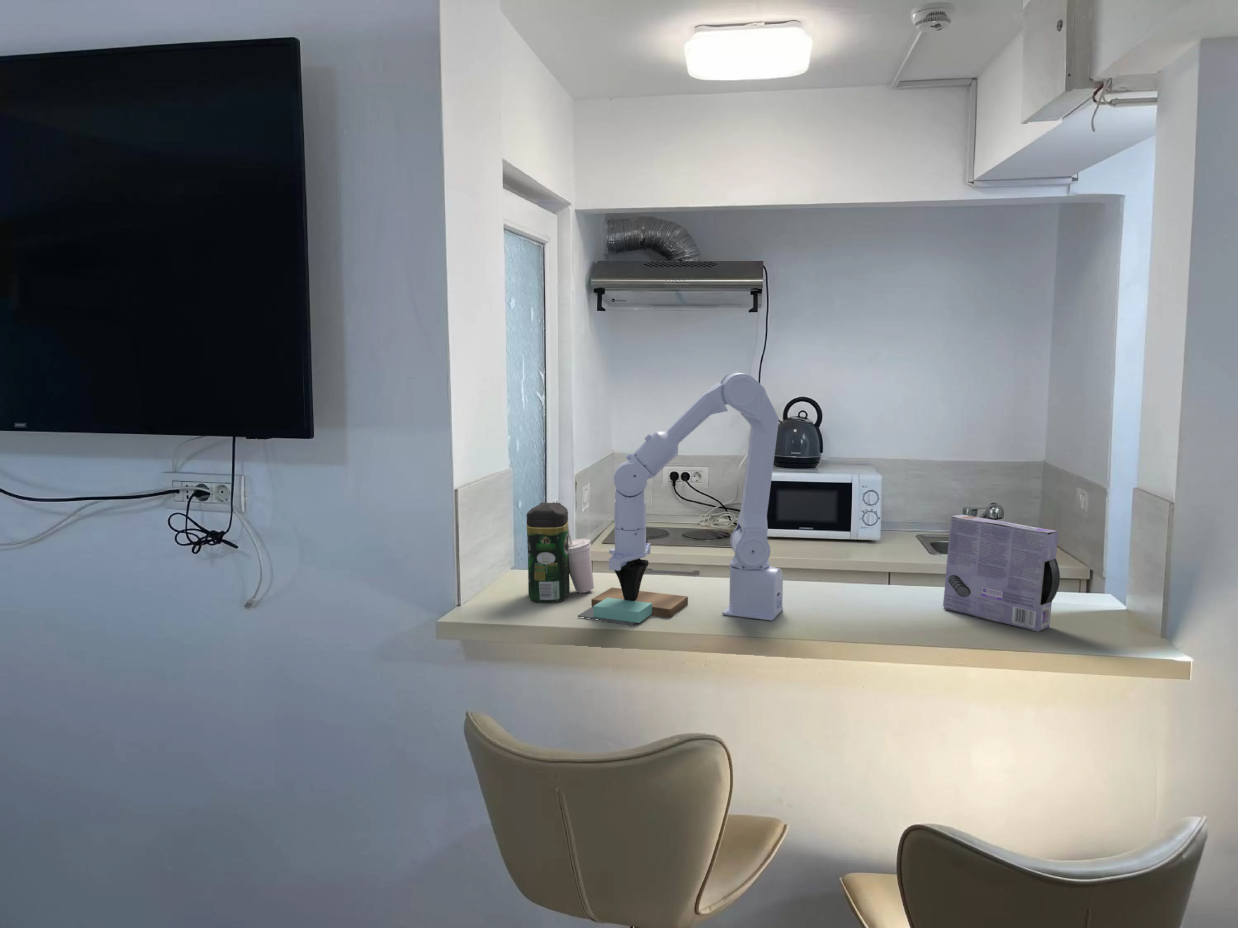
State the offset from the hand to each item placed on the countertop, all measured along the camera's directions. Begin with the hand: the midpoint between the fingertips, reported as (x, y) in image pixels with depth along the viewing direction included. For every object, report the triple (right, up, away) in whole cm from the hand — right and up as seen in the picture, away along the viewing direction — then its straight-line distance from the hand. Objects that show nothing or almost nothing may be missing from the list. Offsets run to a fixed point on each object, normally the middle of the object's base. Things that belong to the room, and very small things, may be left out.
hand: (630, 599), depth 171 cm
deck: (+2, -2, +4) cm, 5 cm away
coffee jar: (-16, -1, +11) cm, 19 cm away
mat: (-3, -3, -2) cm, 5 cm away
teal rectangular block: (-1, -2, -3) cm, 4 cm away
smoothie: (-9, 0, +14) cm, 17 cm away
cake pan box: (+66, -3, -5) cm, 66 cm away
